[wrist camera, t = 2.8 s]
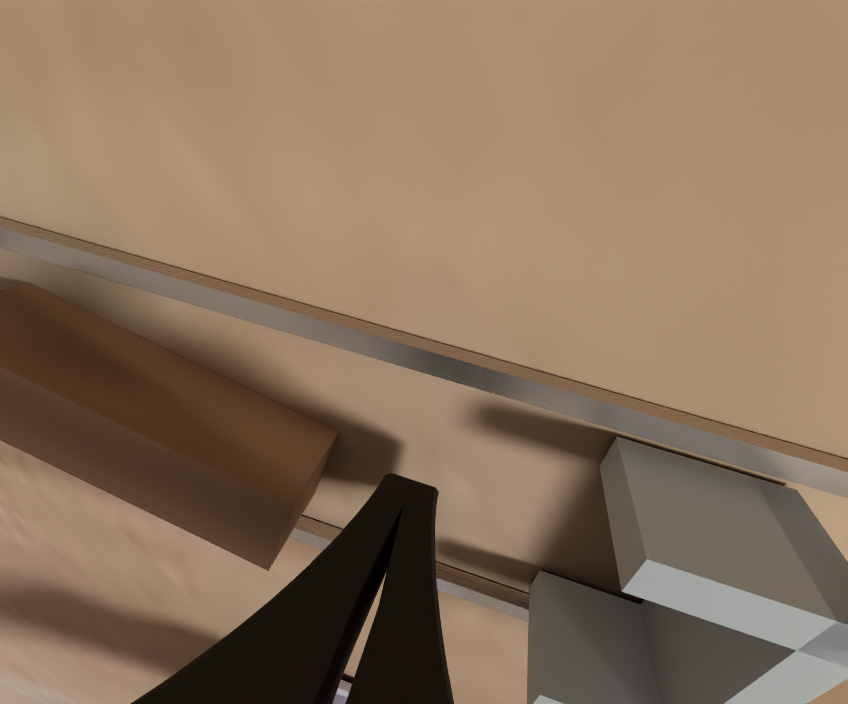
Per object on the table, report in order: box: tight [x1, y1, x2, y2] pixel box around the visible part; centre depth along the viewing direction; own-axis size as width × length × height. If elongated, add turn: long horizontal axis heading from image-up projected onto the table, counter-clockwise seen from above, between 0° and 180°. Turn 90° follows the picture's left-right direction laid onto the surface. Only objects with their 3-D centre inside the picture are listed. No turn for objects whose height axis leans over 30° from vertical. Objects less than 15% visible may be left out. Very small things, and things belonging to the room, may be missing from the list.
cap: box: [527, 437, 848, 704], centre depth 10 cm, size 6×4×3 cm, turn 169°
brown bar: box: [0, 282, 338, 571], centre depth 12 cm, size 3×10×3 cm, turn 68°
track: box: [0, 217, 848, 622], centre depth 12 cm, size 9×29×1 cm, turn 79°
